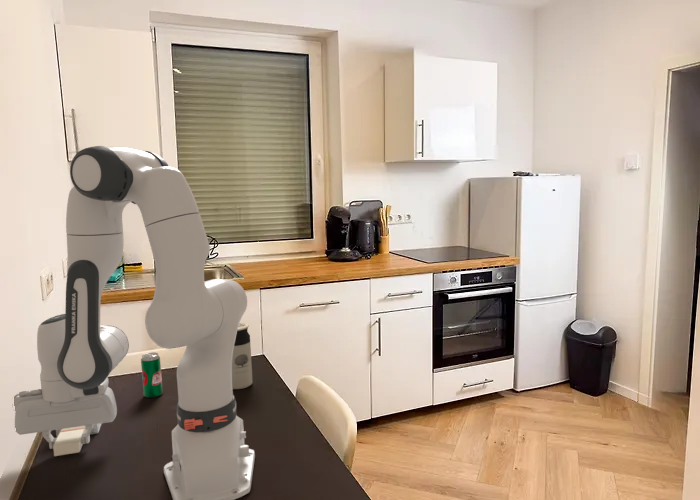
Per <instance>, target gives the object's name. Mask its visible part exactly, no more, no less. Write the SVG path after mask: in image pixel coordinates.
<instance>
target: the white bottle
mask: <svg viewBox="0 0 700 500" xmlns="http://www.w3.org/2000/svg"><path fill="white" fill-rule="evenodd" d="M248 328H249V324H248V323H245V322H240V323H239V326H238V330H237V334H236V339H235V344H234V349H233V355H232V388H233V390H241V389H245V388H249V387H250V386H252V385H253V368H252V349H251V348H252V347H251V346H252V345H251V334H250V333H249V331H248Z"/></svg>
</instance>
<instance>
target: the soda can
mask: <svg viewBox="0 0 700 500" xmlns="http://www.w3.org/2000/svg"><path fill="white" fill-rule="evenodd" d="M140 366H141V375H142V376H141V378H142V388H143V396H144V397H145V398H147V399H156V398H158V397H160V396H162V394H163V382H162V381H163V379H162V369H161V368H162V366H161V357H160V354H159V353H158V352H152V351H151V352H147V353H144V354H141V358H140Z"/></svg>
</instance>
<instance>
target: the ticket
mask: <svg viewBox="0 0 700 500" xmlns="http://www.w3.org/2000/svg"><path fill="white" fill-rule="evenodd" d="M87 431H88V429H87V430H86V428H85V426H79V427H72V428H65V429H62V430H61V431H60V434H59V436H58V437H56V438H57V439H56V441H55V443H54V445H53V449H52V450H53V456H54V457H57V456H65V455H69V454H70V455H71V454H77V453H80V452H81V450H82V447H83V445H84V444H82V443H81V442H82V441H81V436H82V434H85V433H87Z"/></svg>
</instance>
